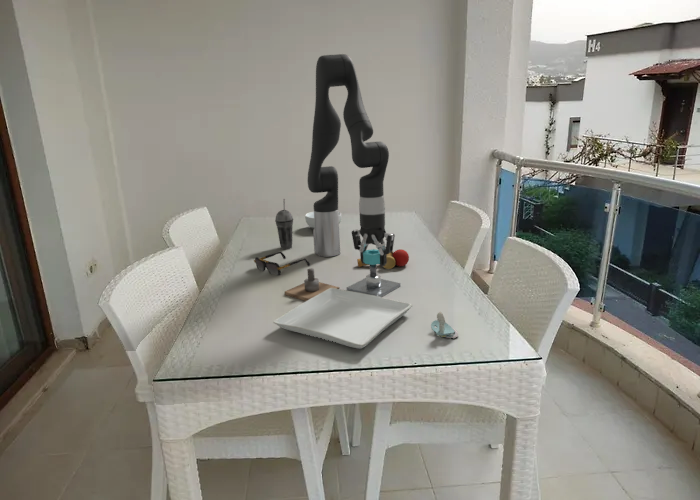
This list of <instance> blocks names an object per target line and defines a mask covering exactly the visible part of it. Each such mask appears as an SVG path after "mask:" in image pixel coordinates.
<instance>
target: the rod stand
mask: <svg viewBox="0 0 700 500" xmlns="http://www.w3.org/2000/svg"><path fill="white" fill-rule="evenodd" d="M329 288H336V289H340V287H339V286H336V285H332V284H328V283H324V282H321V281H319V278H317V277H315V269H314V268H307V278H306V279H304V282H303V283H302V284H299V285H297V286H295V287H291V288H289V289H287V290H285V291H284V295H285V296H287V297H291V298H295V299H297V300H301V301H304V302H306V301H308V300H309V299H311V298H313V297H315V296H316V295H318V294H320V293H322V292H324V291H326V290H327V289H329Z"/></svg>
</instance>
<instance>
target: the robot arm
mask: <svg viewBox="0 0 700 500" xmlns="http://www.w3.org/2000/svg"><path fill="white" fill-rule="evenodd" d="M343 86H345V88H346V90H347V97H346V101H345V103H344V107H343V112H342V113H343V114H342V115H343V116H342V117H343V121H344V124H345V127H346V130H347V133H348V134H349V138H350V146H351V158H352V162H353V164H354V165H355V166H357V168H359V169H364V168H365V169H366V168H371V171H370V172H369V173H367V174H365V175H363V176H361V177H360V178H359V185H358V187H359V202H358V204H359V206H358V208H359V226H360V229H359V228H357V229H353V230H351V235H352V242H353V248H354V249H355V250H358V251H359V253H360V258H359V259H361V262H362V264H365V263H364V262H363V252H364V251H366V250H368V247H369V245H375V248H376V249H377V250H379V252H380V254H381V255H380V264H379V266H380V267H382V268H384V267H383V266H385V264H386V263H387V254H389V253H390V252H392V251H393V250H394V245H395V237H396V235H395V233H394V232H393V233H389V232H387V231H386V227H385V225H386V211H385V210H386V206H385V205H386V204H385V203H386V202H385V197H384V179H385V176H386V172H387V171H386V170H387V167H388V163H389V160H390V159H389V158H390V153H389V151H390V150H389V149H388V146H387V144H386V143H385V142H383V141H370V142H368V140H370V139H371V138H372V136H373V135H374V129H373V126H372V122H371V121H370V119H369V116H368V113H367V111H366V108H365V105H364V102H363V97H362V93H361V89H360V84H359V79H358V77H357V71H356V67H355V64H354V61H353V59H352V58H351V57H350V56H349V55H348V54H343V53H342V54H340V53H339V54H326V55H325V54H324V55H321V56H319V57H318V59H317V61H316V66H315V103H314V117H313V126H312V137H311V139H312V141H311V153H310V160H309V165H308V171H307V187H308V189H309V191H310V192H311V193H315V194H316V193H317V194H318V193H326V194H325V195H324V197H322V198H321V199H318V200H316V201H315V202H313V212H314V221H315V228H313V230H312V232H313V247H314V249H313V251H314V254H316V256H319V257H325V258H327V257H329V258H330V257H335V256H338V255H340V254H341V240H340V239H341V236H340V224H339V214H338V212H339V175H338V170H337V168H336V167H335V166H332V165H331V166H329V165H328V166H323V164H324V162H325V160H326V159H327V157H328V156H329V155H330V154H331V152H333V151H334V149H335V148H336V146H337V145H338V143H339V140H340V135H341V127H342V123H341V119H340V115H338V112H337V111H336V109H335V108H334V106H333V104H332V102H331V100H330V96H329V95H330V94H329V93H330V88H333V87H335V88H336V87H343ZM361 237H362V240H361ZM384 238H385V239H384ZM385 241H386V242H385ZM393 252H394V251H393Z"/></svg>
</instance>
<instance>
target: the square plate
mask: <svg viewBox="0 0 700 500" xmlns="http://www.w3.org/2000/svg"><path fill="white" fill-rule="evenodd" d="M412 308H413V304H412V303H409V302H404V301H400V300H395V299H390V298H386V297H383V296H382V297H378V296H373V295H369V294H364V293H359V292H353V291H347V289H340V288H339V289H336V288H329V289H327V290H326V291H324V292H322V293H320V294H318V295H316V296H315V297H313V298H311V299H309V300H308V301H304V302H302V303H300V304H299V305H297V306H296V307H294V308H292V309H291V310H288V311H287V312H286V313H284V314H283V315H281V316H279V317H277V318H275V319H274V320H273V321H272V323H273V324H275V325H276V326H278V327H280V328H282V329H284V330H287V331H290V332H295V333H299V334H302V335H305V334H306V336H309V335H310V336H309V337H313V336H314V337H313V338H316V337H318V338H317V339H320V338H322V339H321V340H324V339H325V340H324V341H328V340H329V341H328V342H332V341H333V342H332V343H335V342H336V343H335V344H340V345H341V346H346V347H350V348H353V349H360V350H361V349H363V348H364V347H366V346H368V345H369V344H370V343H371V342H372V341H373V340H374V339H375V338H376V337H378V336H379V335H380V334H381V333H382V332H383V331H384V330H386V329H387V328H389V327H390V326H391V325H393V324H395V322H397V321H398V320H399V319H401V318H402V317H403V316H404V315H405V314H406V313H407V312H409V310H410V309H412Z"/></svg>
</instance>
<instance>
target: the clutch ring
mask: <svg viewBox="0 0 700 500" xmlns="http://www.w3.org/2000/svg"><path fill="white" fill-rule="evenodd" d="M380 255H381V254H380V252H379V250H378V249H377V248H376V249H375V248H373V249H367V250H366V251H364V252H363V262H364V263H365V264H370V265H376V266H377V265H380ZM370 265H369V266H370Z"/></svg>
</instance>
